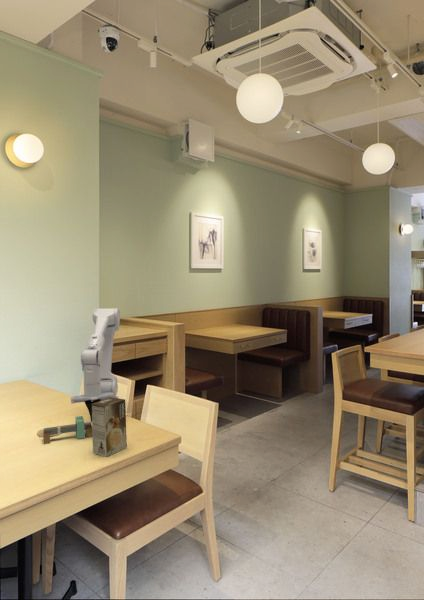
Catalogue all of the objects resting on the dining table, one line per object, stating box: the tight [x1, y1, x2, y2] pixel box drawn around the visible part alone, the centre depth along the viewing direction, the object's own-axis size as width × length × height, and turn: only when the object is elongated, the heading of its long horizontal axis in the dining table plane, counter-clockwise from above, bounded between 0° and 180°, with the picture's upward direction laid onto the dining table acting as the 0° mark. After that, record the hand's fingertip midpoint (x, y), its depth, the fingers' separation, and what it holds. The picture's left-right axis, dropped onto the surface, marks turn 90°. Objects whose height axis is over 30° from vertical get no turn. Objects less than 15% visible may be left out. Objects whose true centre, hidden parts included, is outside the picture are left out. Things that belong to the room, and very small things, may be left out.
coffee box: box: [91, 397, 128, 458], centre depth 138 cm, size 9×6×16 cm
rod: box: [42, 421, 93, 445], centre depth 150 cm, size 16×5×4 cm, turn 113°
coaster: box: [36, 428, 61, 438], centre depth 155 cm, size 9×9×1 cm
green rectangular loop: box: [75, 415, 86, 440], centre depth 151 cm, size 2×6×6 cm, turn 23°
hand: (93, 420), depth 153 cm, fingers closed
